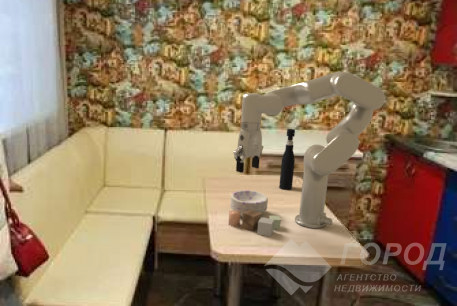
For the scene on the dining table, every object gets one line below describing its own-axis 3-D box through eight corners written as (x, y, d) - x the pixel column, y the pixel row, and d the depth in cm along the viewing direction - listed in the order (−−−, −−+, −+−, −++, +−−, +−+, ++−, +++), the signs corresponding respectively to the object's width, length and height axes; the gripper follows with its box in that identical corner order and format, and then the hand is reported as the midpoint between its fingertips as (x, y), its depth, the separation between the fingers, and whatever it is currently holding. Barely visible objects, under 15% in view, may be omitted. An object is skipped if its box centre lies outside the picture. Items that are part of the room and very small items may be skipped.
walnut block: (260, 228, 161) (261, 213, 160) (252, 231, 157) (253, 216, 156) (249, 224, 164) (250, 209, 163) (241, 228, 160) (242, 213, 159)
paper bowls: (246, 224, 164) (248, 204, 162) (222, 211, 175) (223, 193, 173) (274, 216, 174) (275, 198, 172) (249, 205, 185) (250, 187, 183)
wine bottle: (292, 190, 209) (298, 130, 202) (279, 189, 209) (285, 130, 202) (291, 186, 215) (296, 128, 208) (278, 185, 215) (283, 127, 208)
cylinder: (242, 224, 163) (243, 212, 162) (235, 227, 160) (236, 215, 159) (233, 221, 166) (233, 209, 165) (226, 224, 162) (227, 212, 161)
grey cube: (273, 231, 158) (274, 219, 157) (270, 236, 154) (271, 224, 153) (260, 229, 160) (261, 217, 159) (257, 234, 155) (258, 221, 154)
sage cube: (278, 225, 164) (279, 216, 163) (279, 229, 161) (280, 220, 160) (268, 224, 165) (269, 215, 164) (269, 229, 161) (269, 219, 160)
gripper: (244, 130, 150) (241, 176, 154) (271, 125, 163) (268, 168, 167) (228, 126, 155) (225, 171, 159) (256, 122, 168) (253, 164, 172)
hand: (247, 169), depth 163 cm, fingers open, 9 cm apart
